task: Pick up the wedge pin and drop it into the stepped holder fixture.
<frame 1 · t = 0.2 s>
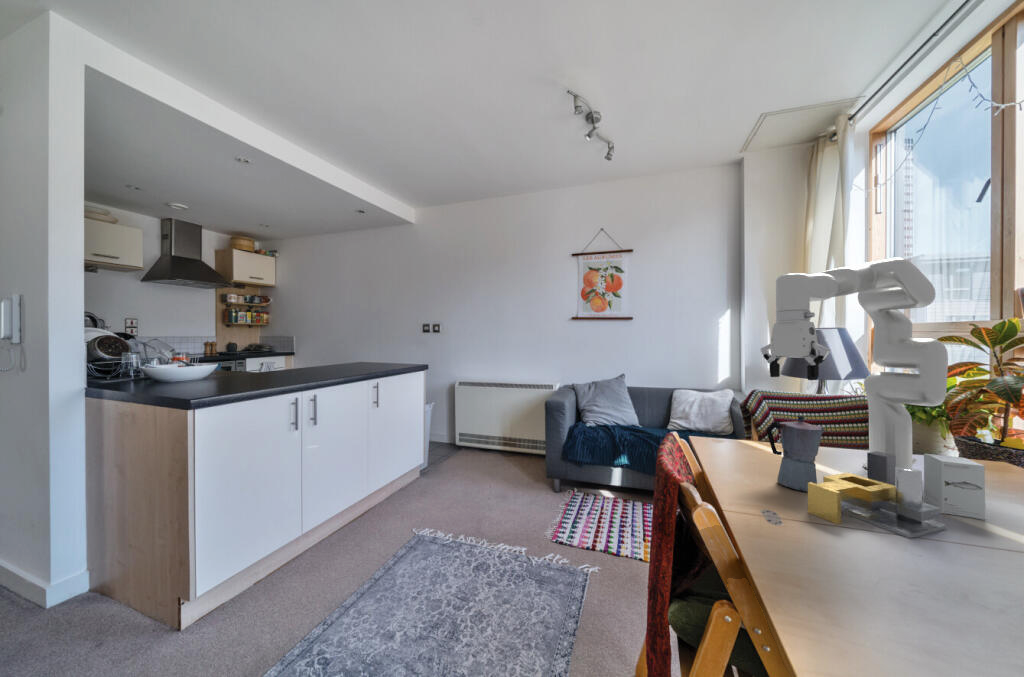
hand: (792, 378, 101), 31 cm above the table, tool pointing down, fingers open, 9 cm apart
stepped holder fixture: (859, 510, 87), on the table
wedge pin: (881, 495, 96), on the table
moka pot: (796, 487, 101), on the table
supplement box: (953, 511, 87), on the table
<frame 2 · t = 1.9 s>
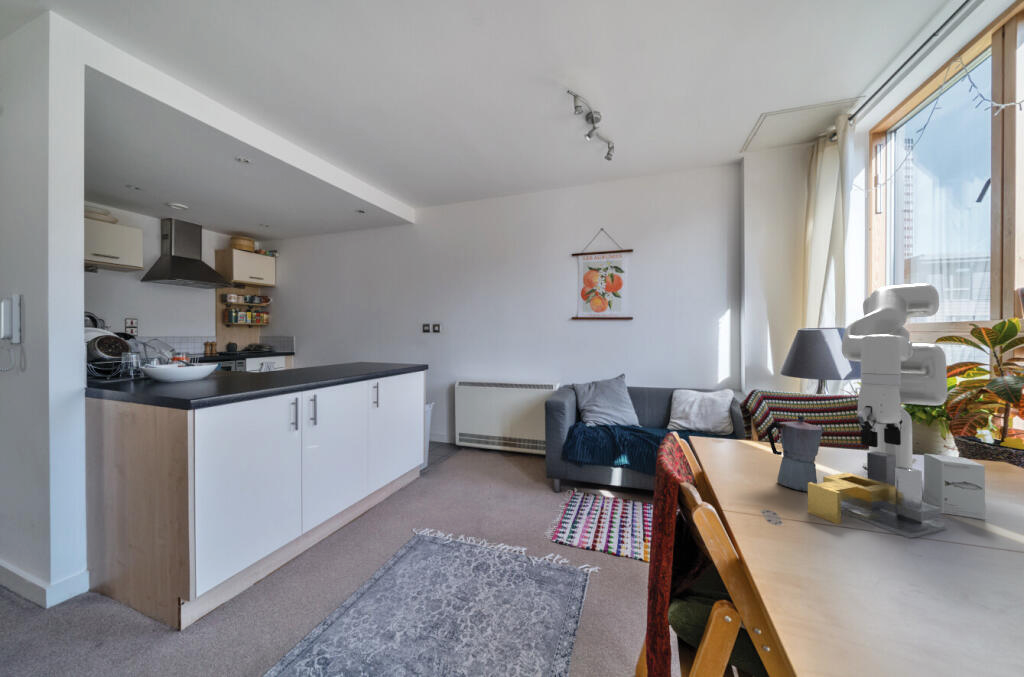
hand: (881, 445, 96), 13 cm above the table, tool pointing down, fingers open, 9 cm apart
nothing on the table moved.
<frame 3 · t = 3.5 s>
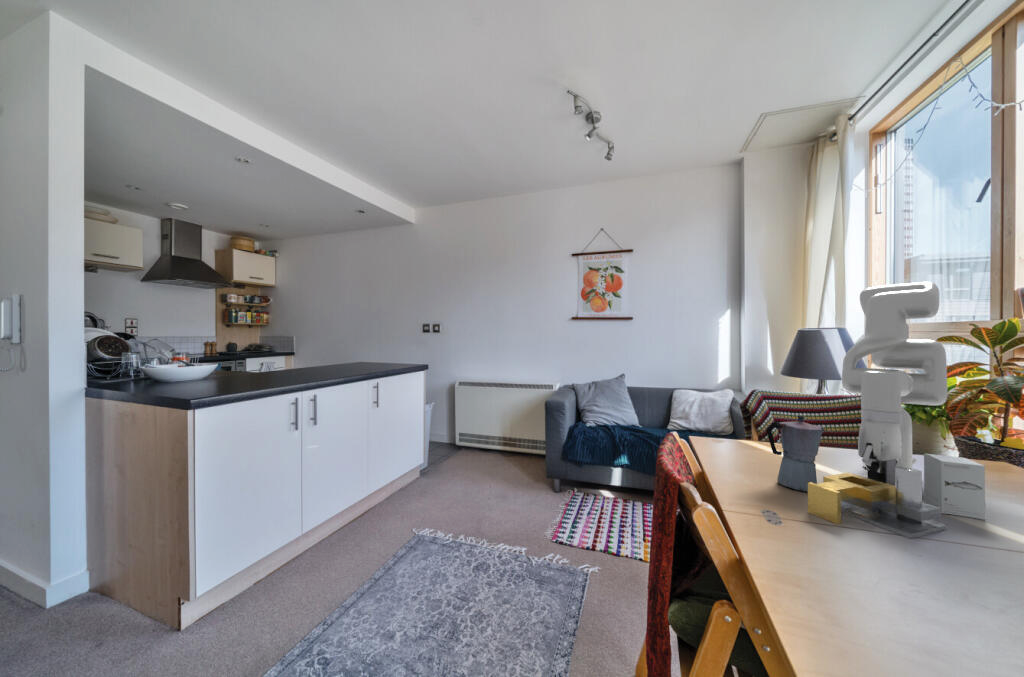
hand: (881, 484, 96), 3 cm above the table, tool pointing down, fingers closed on wedge pin, 4 cm apart
wedge pin: (881, 495, 96), on the table, touching gripper
everything else where it was.
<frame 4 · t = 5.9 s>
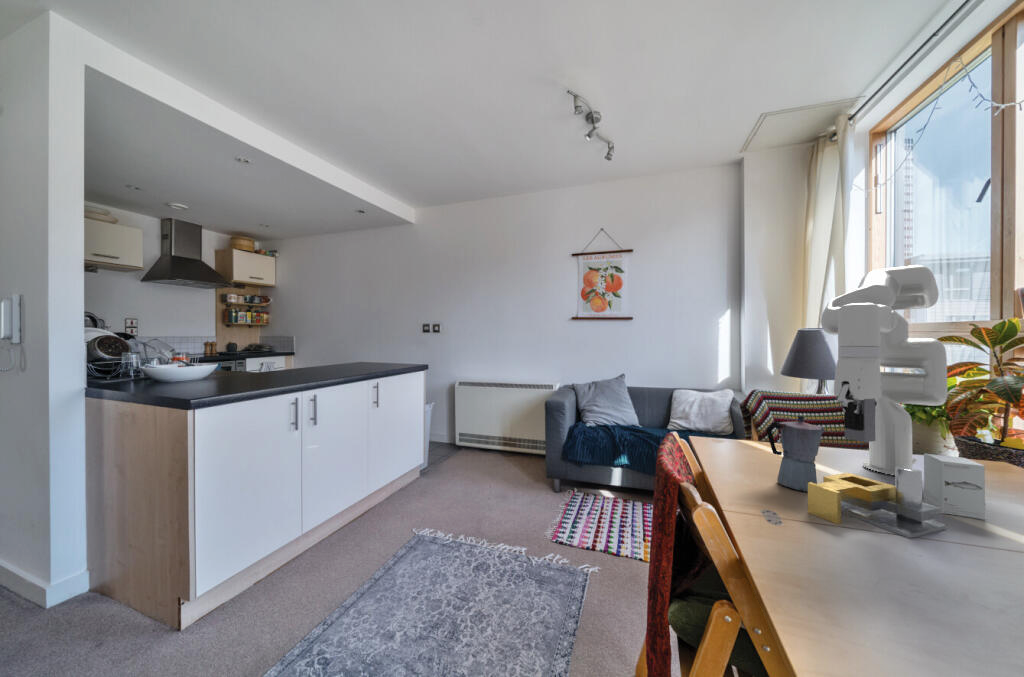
hand: (859, 428, 87), 20 cm above the table, tool pointing down, fingers closed on wedge pin, 4 cm apart
wedge pin: (859, 439, 87), point 17 cm above the table, touching gripper
everything else where it was.
when the fingers open (8 cm above the table, at t = 8.4 s): wedge pin drops 5 cm, resting on stepped holder fixture.
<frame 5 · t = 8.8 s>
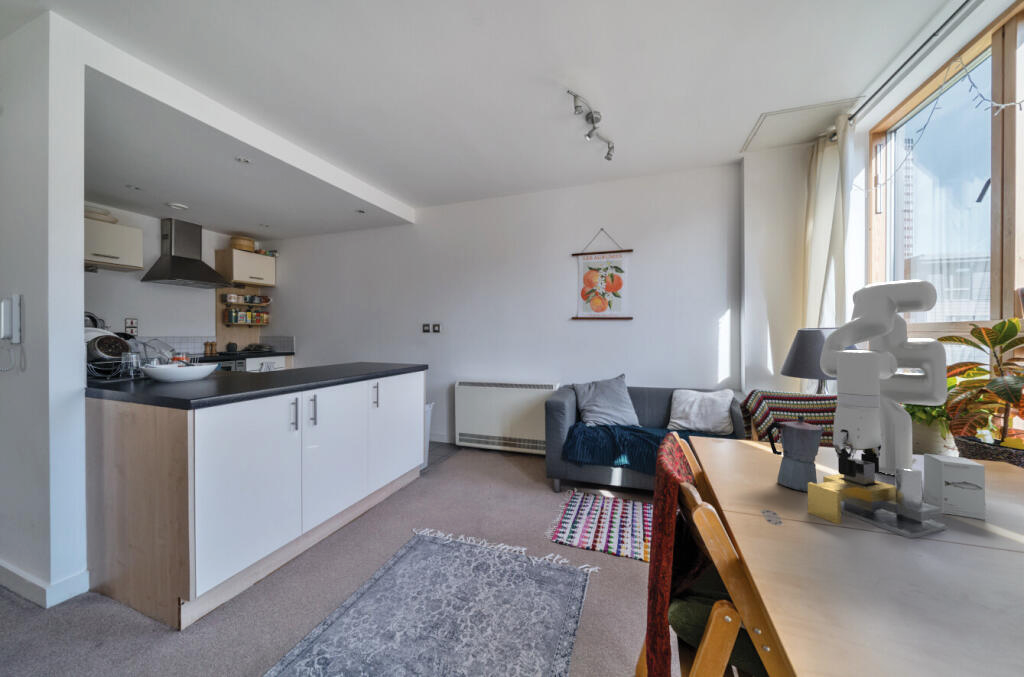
hand: (858, 473, 87), 9 cm above the table, tool pointing down, fingers open, 8 cm apart
wedge pin: (859, 507, 87), point 1 cm above the table, touching stepped holder fixture
everything else where it was.
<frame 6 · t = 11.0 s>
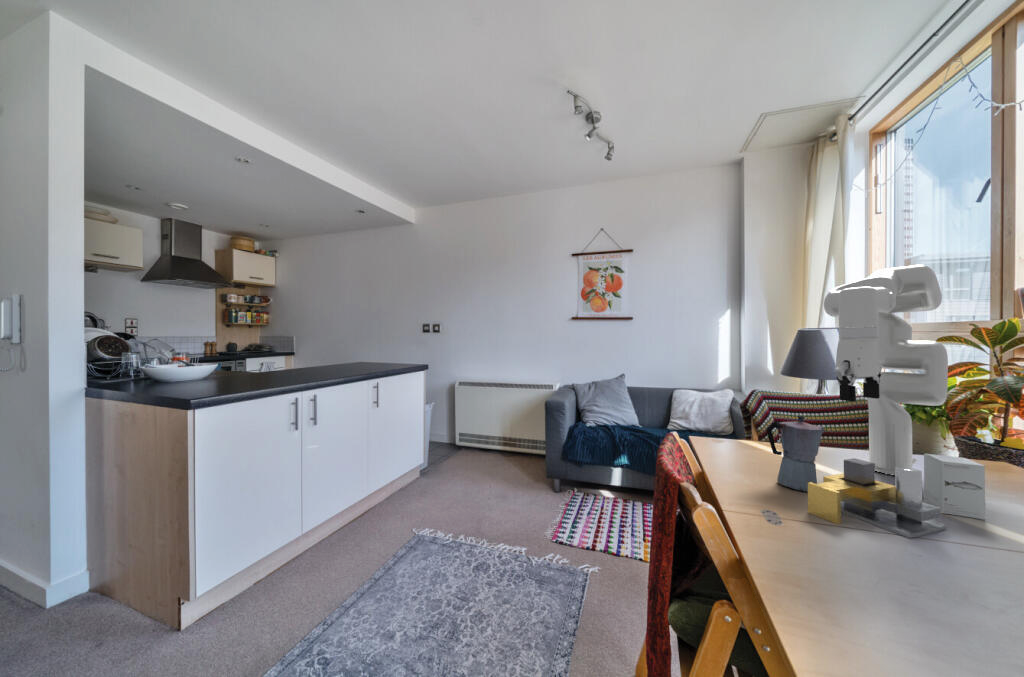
hand: (859, 399, 94), 26 cm above the table, tool pointing down, fingers open, 9 cm apart
nothing on the table moved.
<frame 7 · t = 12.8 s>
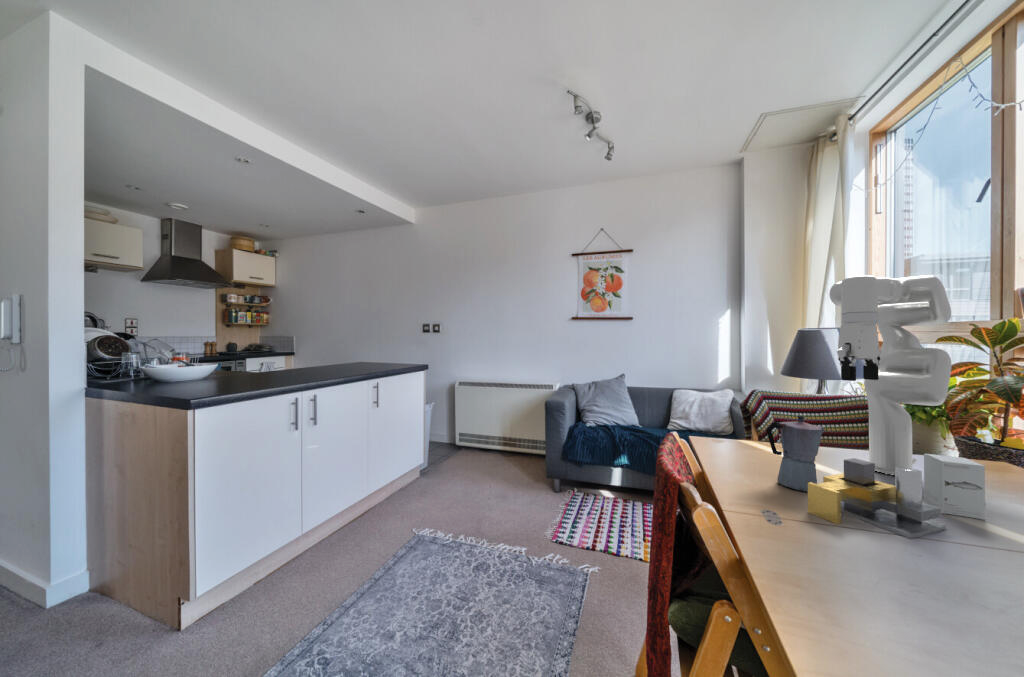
hand: (859, 380, 101), 30 cm above the table, tool pointing down, fingers open, 9 cm apart
nothing on the table moved.
at the end: wedge pin 0.0 cm off-centre on the stepped holder fixture, point 0.8 cm above the stepped holder fixture's base; wedge pin tilted 0°; the gripper is holding nothing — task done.
